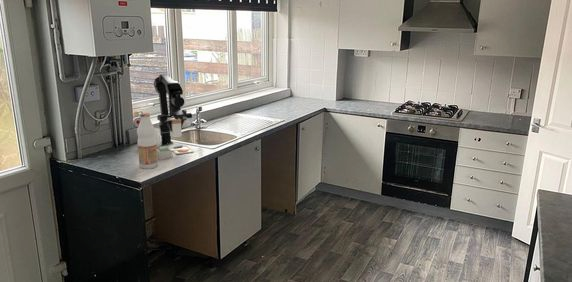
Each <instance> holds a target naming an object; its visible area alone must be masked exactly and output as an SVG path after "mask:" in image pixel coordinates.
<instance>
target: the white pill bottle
mask: <svg viewBox="0 0 572 282" xmlns="http://www.w3.org/2000/svg"><path fill="white" fill-rule="evenodd" d="M170 120H171V126H172V132H171V131H170V136H171V138H179V137H180V138H181V137H183V135H182V134H183V132H182V128H181V119H178V120H176V119H175V118H170Z"/></svg>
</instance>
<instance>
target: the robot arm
mask: <svg viewBox="0 0 572 282" xmlns="http://www.w3.org/2000/svg"><path fill="white" fill-rule="evenodd" d="M179 82H180V81H179ZM179 82H178V81H176V80H173V78H171V77H170V76H169V73H168V74H167V73H166V74H165V73H163V74H159V75H158V77H156V78H155V79H154V80H153V87H154V91H155V92H156V93H157V94H158V99H159V100H158V101H159V107H160V108H159V109H160V114H158V115H156V116H157V117H156V120H157V121H159V123H158V124H159V125H158V127H157V128H160V131H161V139H162V142H161V145H163V146H166V145H169V144H170V145H171V144H174V142H173V141H172V137H171V136H170V131H171V132H172V126H171V120H170V119H173V118H175V119H176V120H178V119H181V129H182V128H183V125H184V123H185V121H187V119H192V118H193V114H192V112H190V111H188V110H187V109H181V108H182V107H183V106H184V105H185V99H184V98H183V97H182V96H183V92H184V90H183V88H182V85H181V83H179ZM167 95H168V96H167ZM167 97H168V98H167Z"/></svg>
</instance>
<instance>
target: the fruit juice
mask: <svg viewBox="0 0 572 282" xmlns="http://www.w3.org/2000/svg"><path fill="white" fill-rule="evenodd" d="M139 117H140V121H139V124H138V127H137V128H136V135H137V137H138V138H137V151H138V152H137V155H138V165H139V168H140V169H146V170H149V169H151V170H152V169H154V168H157V167H158V166H159V160H158V159H159V158H158V156H157V149H158V147H157V141H156V137H155V132H156V131H155V128H156V127H155V126H154V124H153V123H152V121H151V114H150V113H148V112H143V113H140V114H139Z"/></svg>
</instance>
